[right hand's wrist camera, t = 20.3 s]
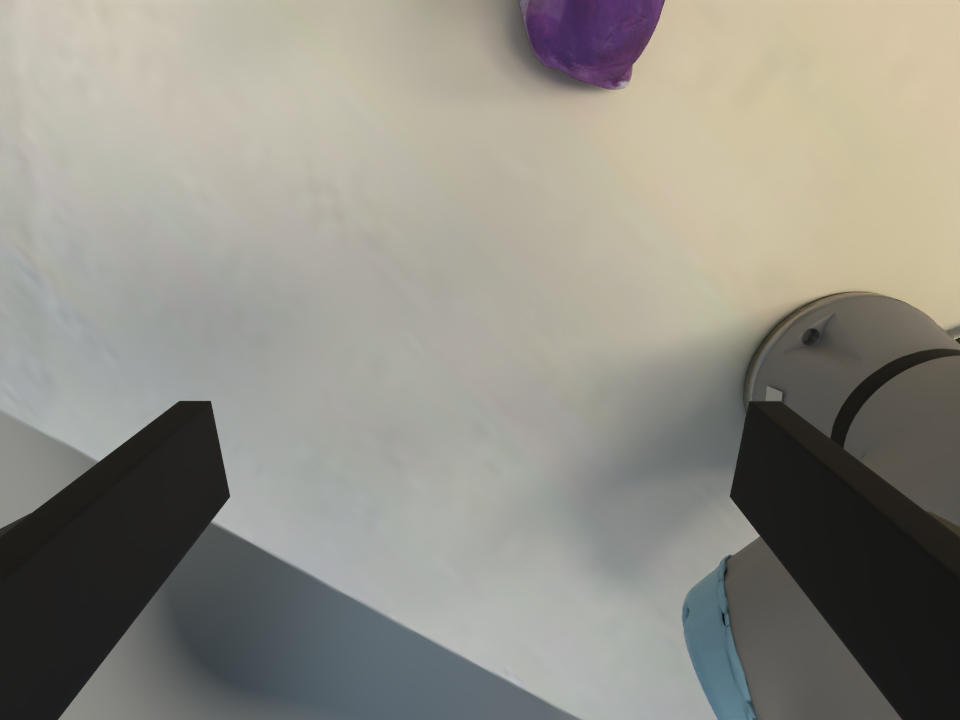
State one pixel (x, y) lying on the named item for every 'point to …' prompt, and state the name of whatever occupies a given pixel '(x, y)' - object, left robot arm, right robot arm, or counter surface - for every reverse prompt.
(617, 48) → the figurine
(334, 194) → the counter surface
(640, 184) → the counter surface
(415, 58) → the counter surface
